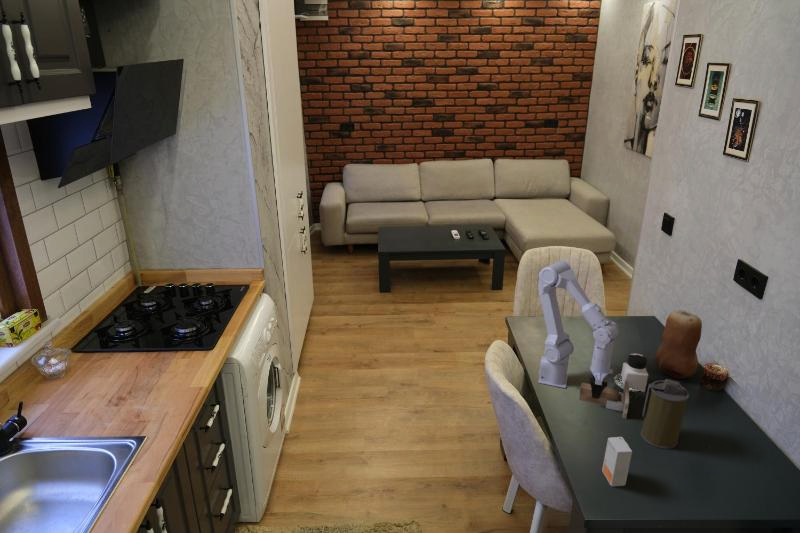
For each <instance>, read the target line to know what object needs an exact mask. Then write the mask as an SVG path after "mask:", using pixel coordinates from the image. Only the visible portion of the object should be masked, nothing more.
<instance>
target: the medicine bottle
mask: <svg viewBox="0 0 800 533" xmlns="http://www.w3.org/2000/svg"><path fill="white" fill-rule="evenodd" d="M647 363H648V358H647V357H646V356H644V355H643V354H640V353H636V352H635V353H631V354H628V357H627V362H623V364H622V370H621V374H620V377H621V376H622V380H623V384H624V385H625V380H629V388H632V389H636V390H639V391H641V392H640V393H645V392H646V389H647V386H648V385H647V384H648V380H649V373H648V371H647Z"/></svg>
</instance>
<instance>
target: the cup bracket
mask: <svg viewBox="0 0 800 533" xmlns="http://www.w3.org/2000/svg"><path fill="white" fill-rule="evenodd" d="M623 407H624V393H623V392H621V391H619V397H618V401H614V400H609V399H607V402H606V405H605V409H609V410H613V411H618V412H622V411H623Z"/></svg>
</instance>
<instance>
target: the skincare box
mask: <svg viewBox="0 0 800 533" xmlns="http://www.w3.org/2000/svg"><path fill="white" fill-rule="evenodd" d="M632 455H633V450H632V449H631V448H630V446H629V444H628V443H627V442H626V441H625V439H624V437H623V436H612V437H608V438H607V442H606V448H605V452H604V458H603V464H602V469H601V472H602V473H603V475H604V476H605V478H606V480H607V482H608V483H609V485H610V487H624V486H626V483H627V478H628V475H629V469H630V464H631V459H632Z"/></svg>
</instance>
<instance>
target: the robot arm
mask: <svg viewBox="0 0 800 533" xmlns="http://www.w3.org/2000/svg"><path fill="white" fill-rule="evenodd" d="M538 278H539V279H538V284H537V289H538V294H539V299H540V303H541V307H542V313H543V318H544V321H545V326H546V332H547V336H546V339H545V341H544V347H545V348H544V352H543V353H544V355H542V356H541V360H540V365H539V366H540V368H539V369H538V382H537V383H539V384H543V385H548V386H553V387H558V388H562V389H566V387H567V383H568V382H567V381H568V379H569V378H568V375H567V374H568V367H569V360H570V355H572V354H573V352H574V351H575V350H574V349H575V348H574V344H573V342H572V341H571V339H570V335H569V334H568V333H566V332H565V331H564V327H563V326H564V325H563V321H562V320H563V319H562V316H561V315H562V314H561V313H560V312H561V311H560V308H559V302H558V298H557V292H556V288H557V289H564V290H566V291H567V292H568V293H569V295H570V296H572V298H573V299H574V300H575V302H576V303H577V305H579V306H580V308H581V312H580V313H581V315H582V316H583V317H584V320H586V322H587V323H588V325H589V326H590V328H591V329H592V331H593V332H592V336H593V338H594V346H593V354H592V358H591V364H590V366H589V370H590V372H591V374H592V377H589V380H588V381H589V383H588V384H590V385H591V389H592V398H596V399H599V397H600V395H601V393H602V391H603V390H604V388H606V387H607V386H608V382H607V381H604V380H605V378H606V377H607V376H608V375H609V374H610V375H611V374H613V372H614V370H613V369H612V368H611V362H612V357H613V351H614V346H615V345H614V344H615V339H616V338H617V337H618V336H619V334H620V329H619V327H618V324H617V323H616V322H614V321H612V320H610V319H609V318H608V317H607V316H606V315H605V313H604V311H602V307H601V305H598V304H597V303H595V302H592V301H590V298H589V297H588V295H587V294H586V293H585V291H584V289H583V288H582V286H581V284H580V283H579V281H578V279H577V278H576V275H575V270H574V269H573V268H572V267H571V265H570V264H569V263H568V262H567V261H565V260H559V261H557V262H555V263H553V264H551V265H548V266H546V267H543V268H542V269H541V270H540V272H539V273H538ZM607 388H608V387H607Z"/></svg>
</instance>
